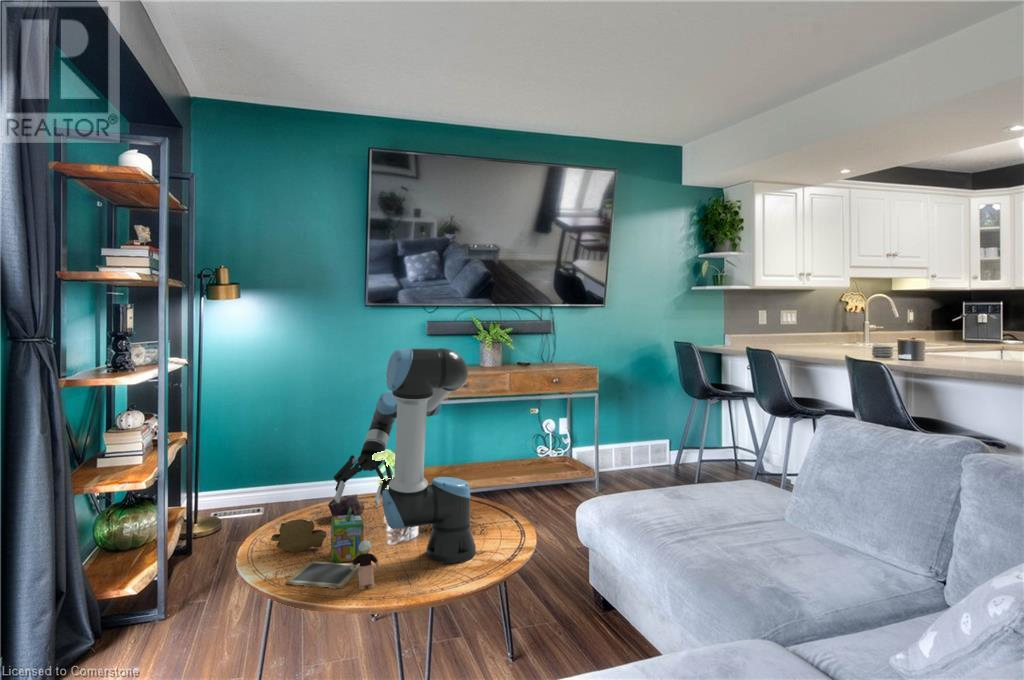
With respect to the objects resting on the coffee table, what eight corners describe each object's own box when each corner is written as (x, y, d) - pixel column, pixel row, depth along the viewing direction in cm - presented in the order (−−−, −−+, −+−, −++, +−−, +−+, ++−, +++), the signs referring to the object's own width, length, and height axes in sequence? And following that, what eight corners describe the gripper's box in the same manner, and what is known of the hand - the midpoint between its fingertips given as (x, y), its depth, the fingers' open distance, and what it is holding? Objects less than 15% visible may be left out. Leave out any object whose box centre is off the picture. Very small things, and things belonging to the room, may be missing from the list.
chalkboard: (362, 567, 168) (362, 564, 168) (341, 588, 154) (341, 585, 154) (311, 563, 171) (311, 561, 171) (285, 584, 157) (285, 581, 157)
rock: (336, 517, 217) (326, 525, 207) (333, 494, 217) (323, 501, 207) (366, 512, 216) (358, 521, 206) (363, 490, 216) (354, 497, 206)
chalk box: (330, 553, 179) (330, 505, 179) (360, 549, 182) (360, 502, 182) (332, 564, 170) (332, 514, 170) (364, 560, 174) (364, 511, 173)
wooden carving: (326, 544, 186) (326, 514, 185) (326, 550, 181) (326, 518, 181) (271, 551, 180) (271, 519, 180) (270, 556, 176) (269, 524, 176)
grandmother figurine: (377, 581, 159) (377, 536, 159) (380, 587, 155) (380, 540, 155) (348, 587, 155) (348, 540, 155) (352, 593, 152) (352, 545, 152)
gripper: (412, 453, 199) (396, 509, 185) (344, 450, 203) (324, 505, 189) (406, 440, 194) (390, 498, 179) (337, 438, 198) (316, 494, 184)
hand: (356, 502), depth 184 cm, fingers open, 13 cm apart
